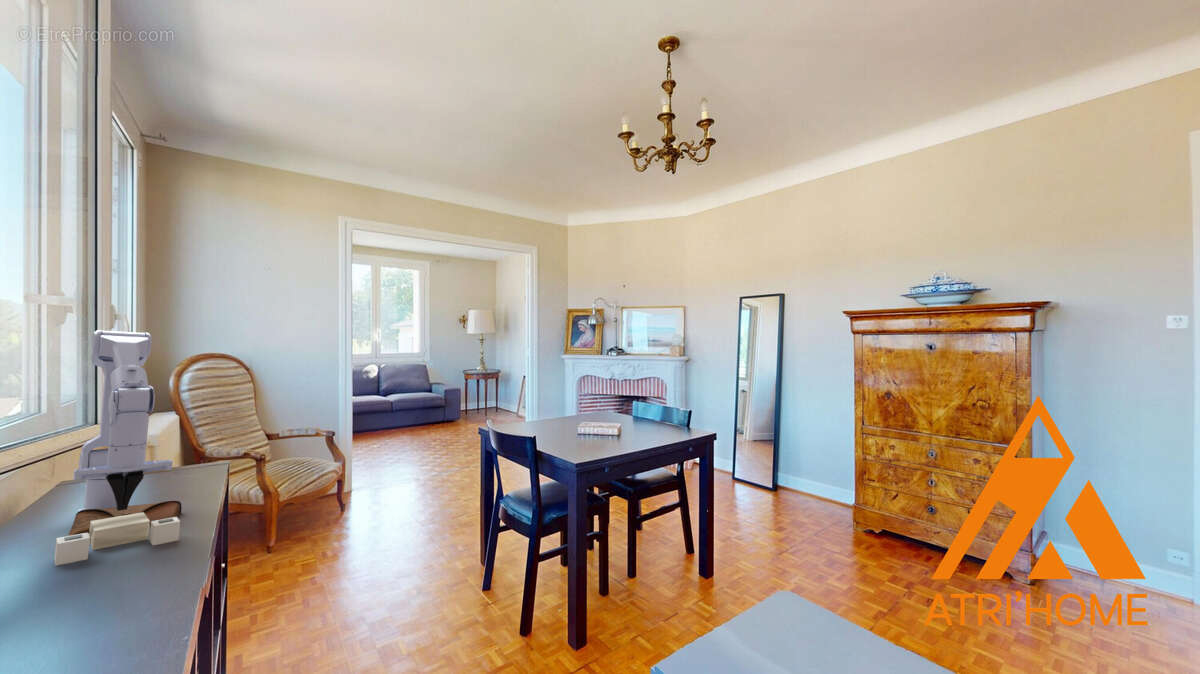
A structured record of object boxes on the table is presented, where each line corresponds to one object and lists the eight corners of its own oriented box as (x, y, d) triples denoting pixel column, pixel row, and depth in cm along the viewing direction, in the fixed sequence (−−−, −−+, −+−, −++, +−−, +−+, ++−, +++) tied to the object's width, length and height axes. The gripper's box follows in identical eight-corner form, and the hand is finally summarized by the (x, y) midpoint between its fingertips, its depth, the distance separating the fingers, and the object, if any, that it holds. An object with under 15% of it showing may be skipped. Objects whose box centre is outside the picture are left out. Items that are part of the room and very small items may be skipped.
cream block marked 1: (54, 559, 87) (56, 536, 87) (85, 553, 90) (88, 531, 90) (55, 566, 85) (57, 542, 85) (87, 559, 88) (90, 537, 88)
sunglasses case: (62, 537, 97) (70, 505, 100) (68, 545, 101) (76, 514, 104) (178, 522, 108) (182, 493, 111) (179, 530, 112) (183, 502, 115)
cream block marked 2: (149, 540, 97) (151, 520, 98) (174, 535, 100) (176, 515, 101) (152, 545, 95) (154, 525, 95) (178, 540, 98) (180, 520, 98)
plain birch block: (88, 540, 97) (90, 521, 97) (141, 530, 103) (143, 512, 103) (92, 551, 92) (94, 530, 92) (148, 540, 98) (149, 521, 98)
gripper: (78, 451, 90) (71, 522, 89) (177, 442, 102) (171, 505, 101) (75, 446, 95) (68, 513, 94) (170, 438, 106) (165, 498, 105)
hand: (121, 509), depth 98 cm, fingers closed
